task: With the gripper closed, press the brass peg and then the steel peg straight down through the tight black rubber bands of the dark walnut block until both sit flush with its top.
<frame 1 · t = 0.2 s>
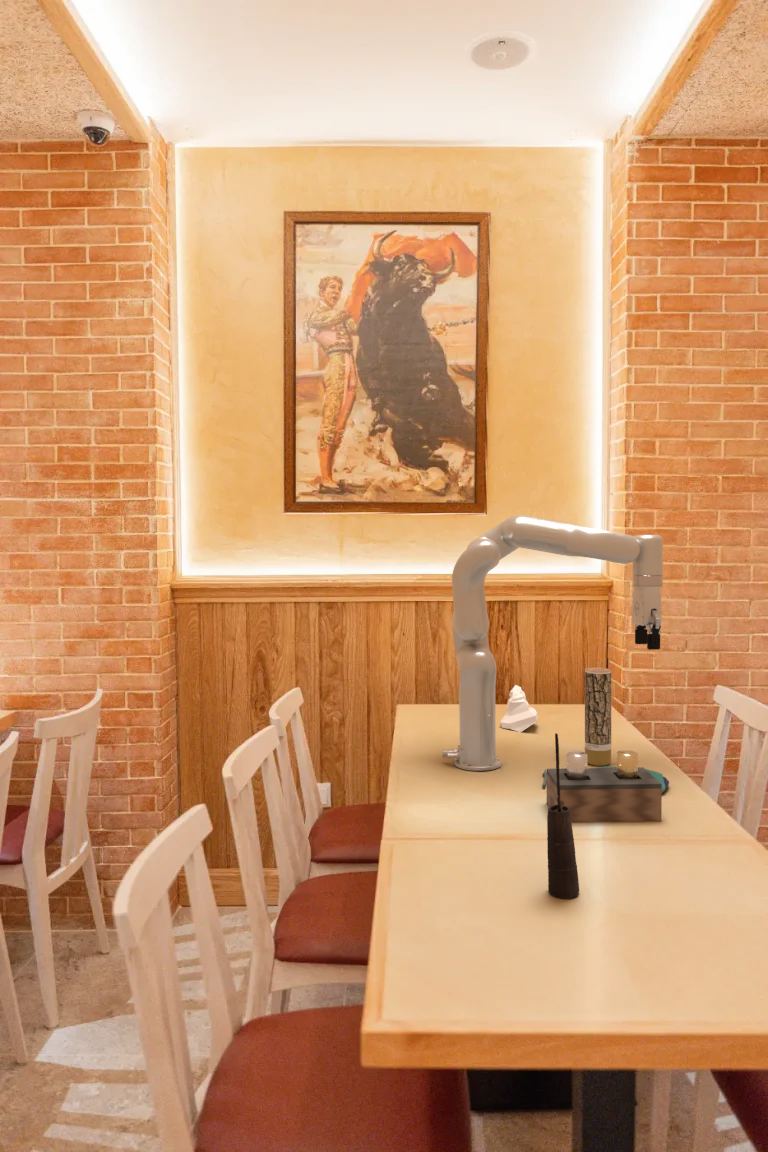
hand: (647, 646, 212), 31 cm above the table, tool pointing down, fingers open, 9 cm apart
paper tube: (598, 763, 214), on the table
butter churn: (563, 890, 139), on the table
brass peg: (627, 768, 177), point 9 cm above the table, slide at 5.0 cm
steel peg: (577, 769, 177), point 9 cm above the table, slide at 5.0 cm
peg block: (602, 811, 177), on the table
cutlery set: (604, 785, 197), on the table
soft serve ice cream: (519, 728, 254), on the table
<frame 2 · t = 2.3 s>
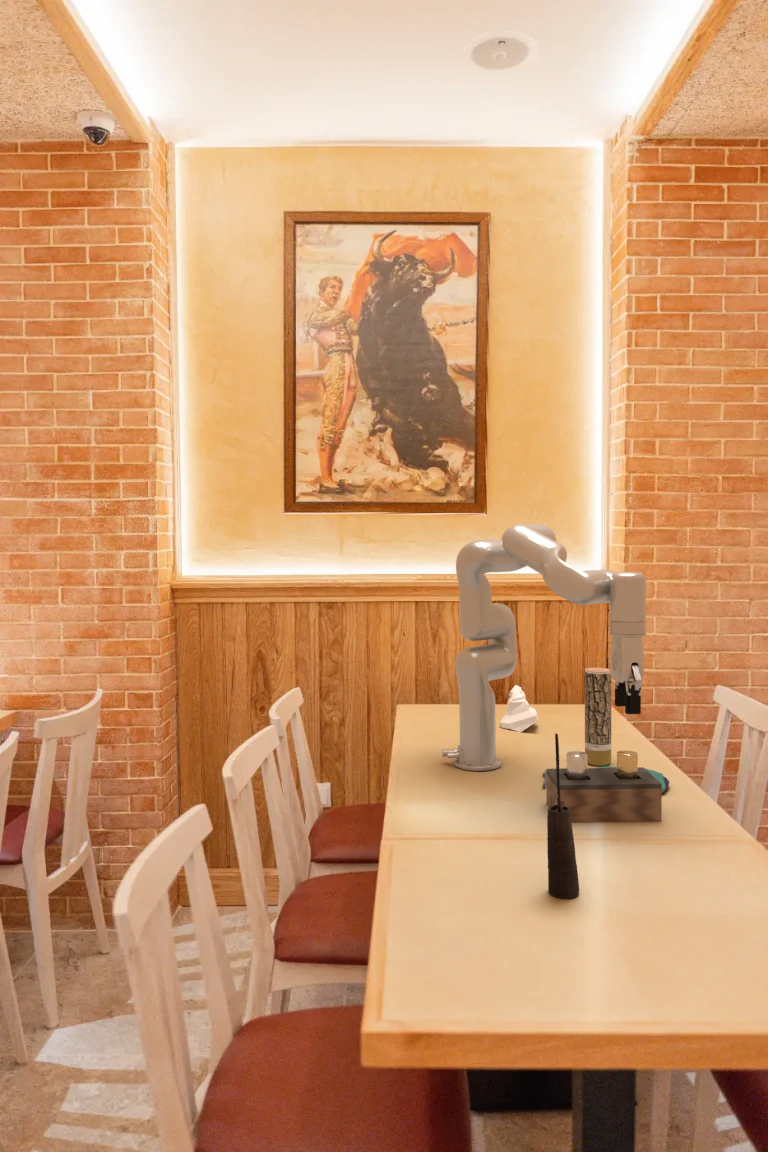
hand: (627, 709, 176), 23 cm above the table, tool pointing down, fingers open, 6 cm apart
nothing on the table moved.
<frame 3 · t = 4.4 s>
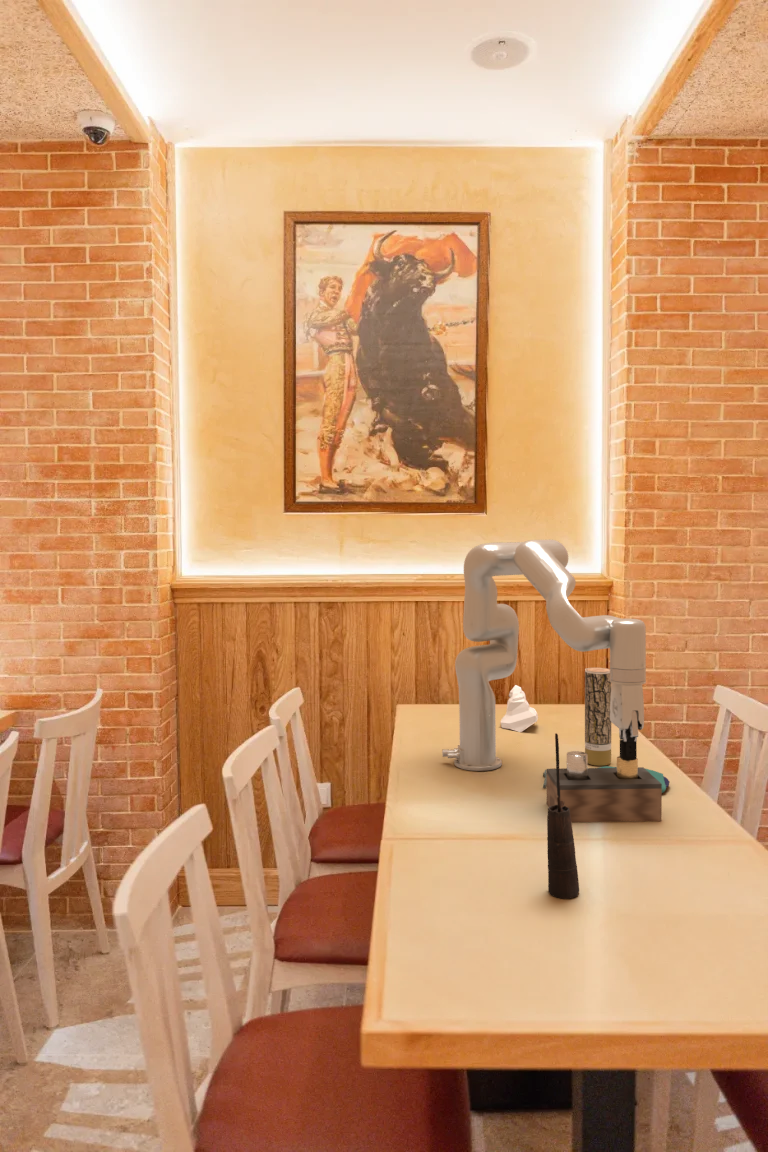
hand: (628, 758, 176), 12 cm above the table, tool pointing down, fingers closed
brass peg: (627, 774, 177), point 8 cm above the table, slide at 3.8 cm, touching gripper
everything else where it was.
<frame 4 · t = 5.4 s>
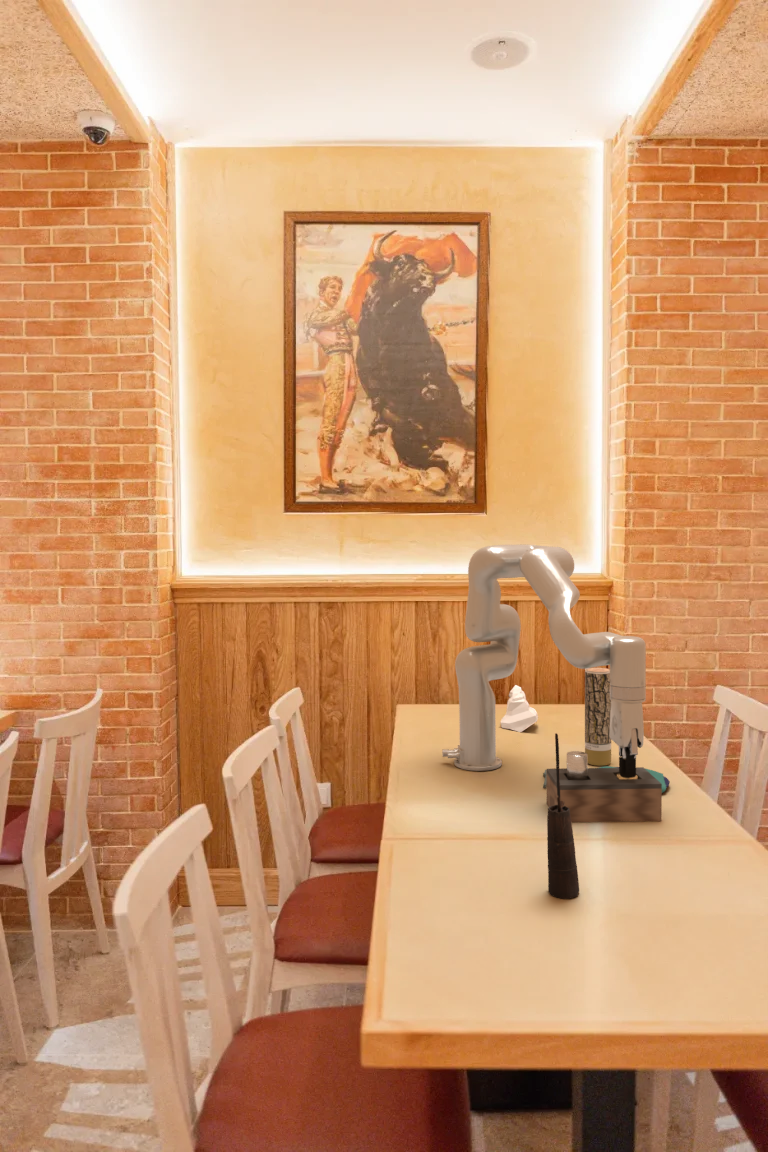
hand: (627, 775, 177), 8 cm above the table, tool pointing down, fingers closed
brass peg: (627, 791, 177), point 4 cm above the table, slide at 0.0 cm, touching gripper
everything else where it was.
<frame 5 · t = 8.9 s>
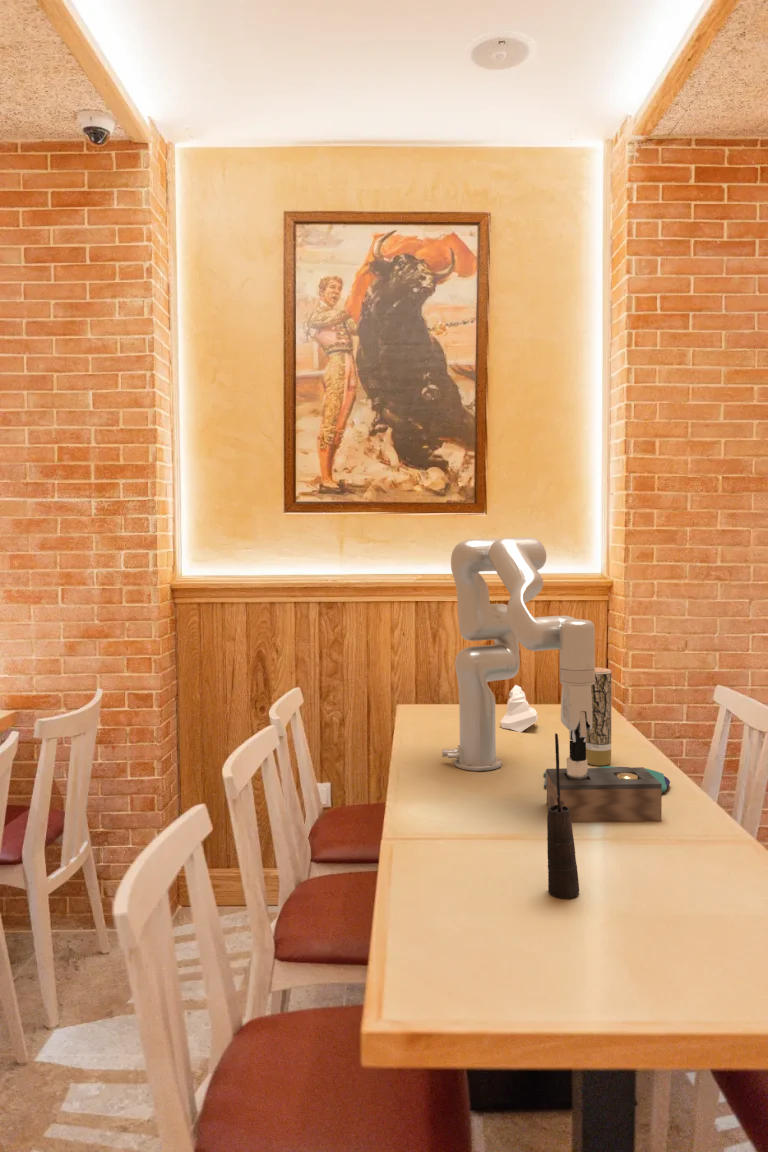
hand: (577, 759, 176), 12 cm above the table, tool pointing down, fingers closed
brass peg: (627, 791, 177), point 4 cm above the table, slide at 0.0 cm
steel peg: (577, 774, 177), point 8 cm above the table, slide at 3.8 cm, touching gripper
everything else where it was.
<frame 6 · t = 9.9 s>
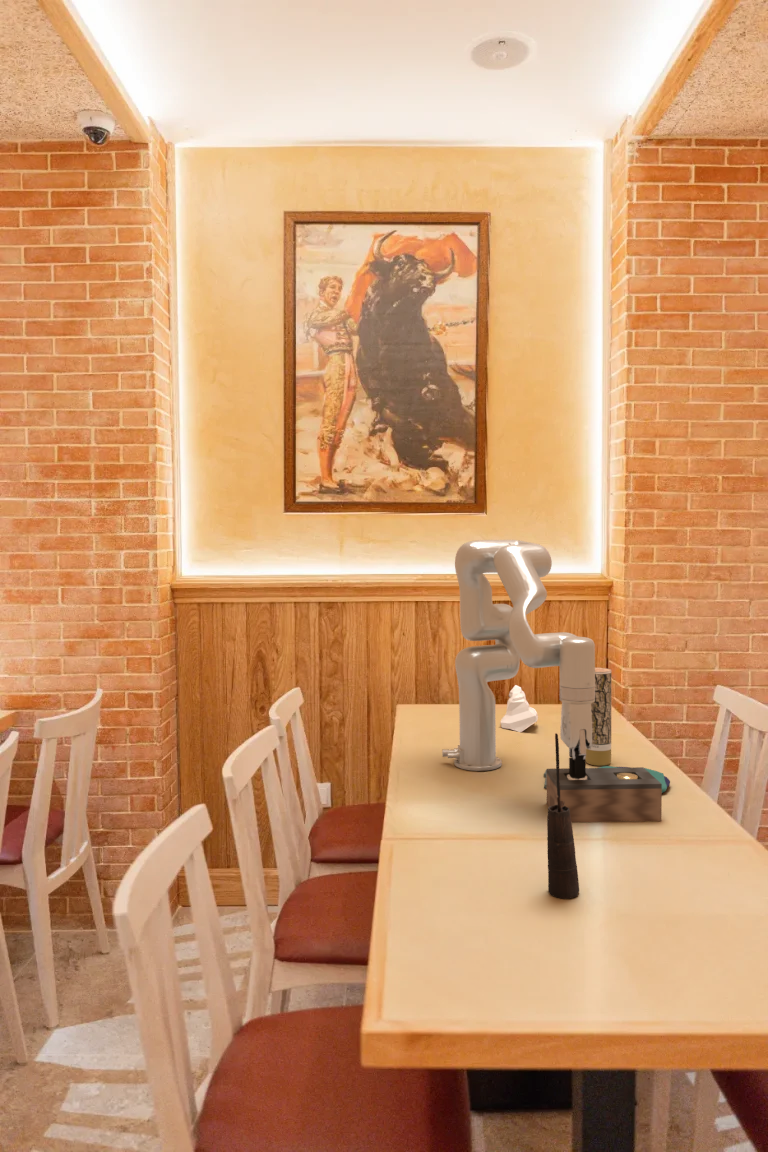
hand: (577, 776, 177), 8 cm above the table, tool pointing down, fingers closed
steel peg: (577, 792, 177), point 4 cm above the table, slide at 0.0 cm, touching gripper
everything else where it was.
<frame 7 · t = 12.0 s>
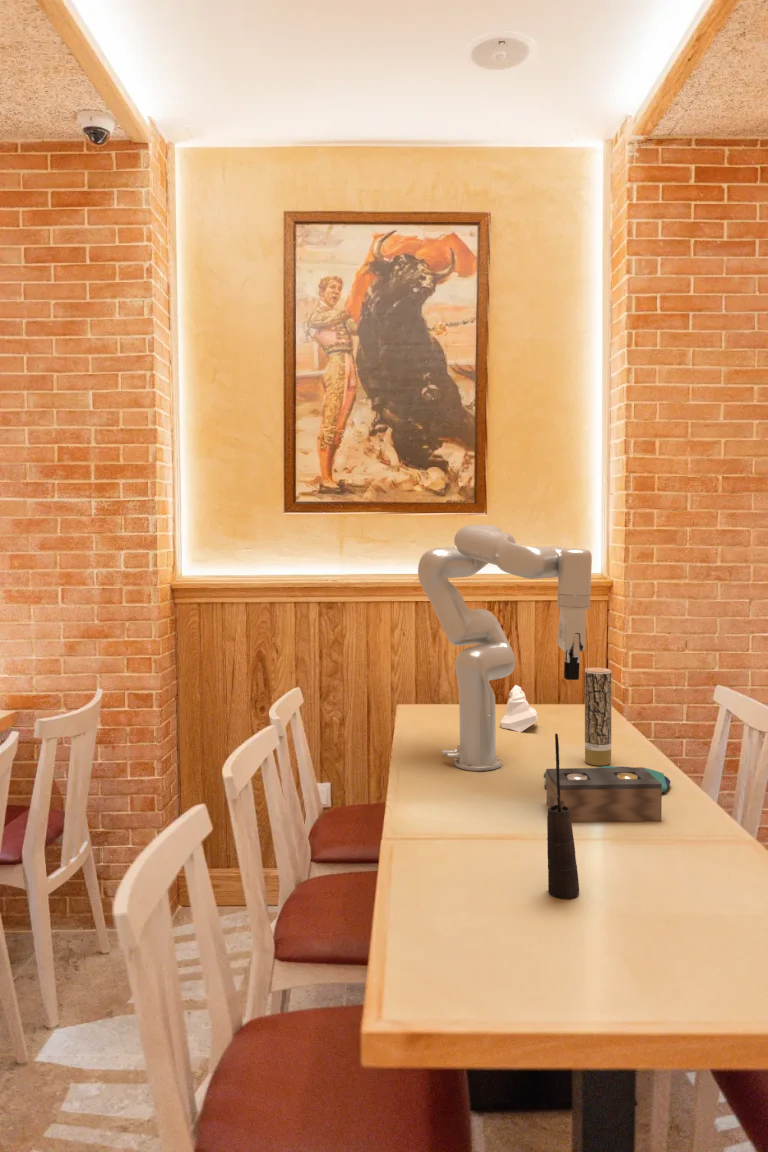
hand: (571, 678, 190), 27 cm above the table, tool pointing down, fingers closed
steel peg: (577, 792, 177), point 4 cm above the table, slide at 0.0 cm
everything else where it was.
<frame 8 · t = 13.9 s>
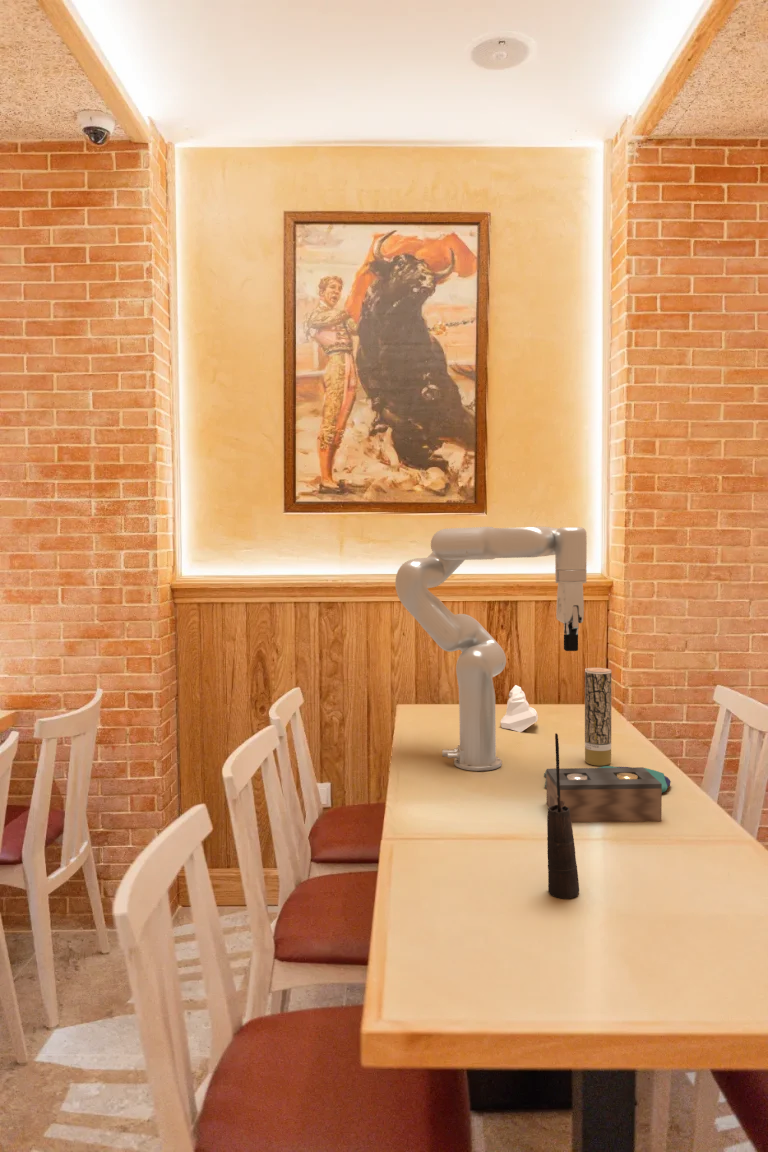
hand: (570, 650, 200), 32 cm above the table, tool pointing down, fingers closed
nothing on the table moved.
at the end: brass peg slide at 0.0 cm; steel peg slide at 0.0 cm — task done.
